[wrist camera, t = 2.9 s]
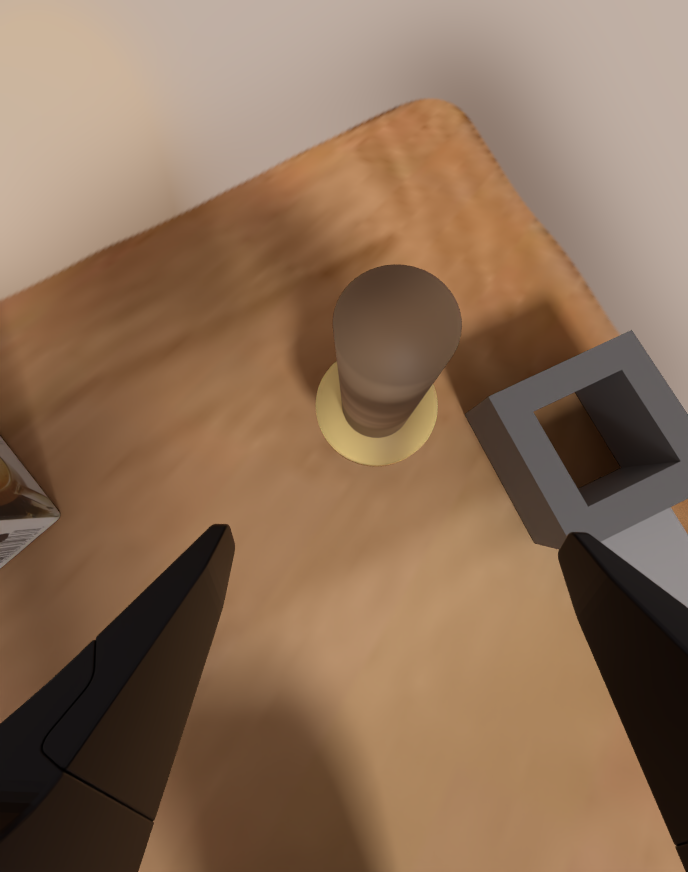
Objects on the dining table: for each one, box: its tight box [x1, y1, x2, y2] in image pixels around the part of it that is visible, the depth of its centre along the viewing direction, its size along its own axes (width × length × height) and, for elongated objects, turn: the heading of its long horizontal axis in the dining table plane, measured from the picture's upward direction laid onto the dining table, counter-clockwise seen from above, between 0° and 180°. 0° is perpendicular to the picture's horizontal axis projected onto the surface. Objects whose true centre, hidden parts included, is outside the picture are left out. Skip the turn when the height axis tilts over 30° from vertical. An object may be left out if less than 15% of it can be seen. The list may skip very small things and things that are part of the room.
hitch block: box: [465, 330, 688, 607], centre depth 19 cm, size 9×23×4 cm, turn 25°
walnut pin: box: [316, 265, 462, 466], centre depth 16 cm, size 6×6×13 cm
